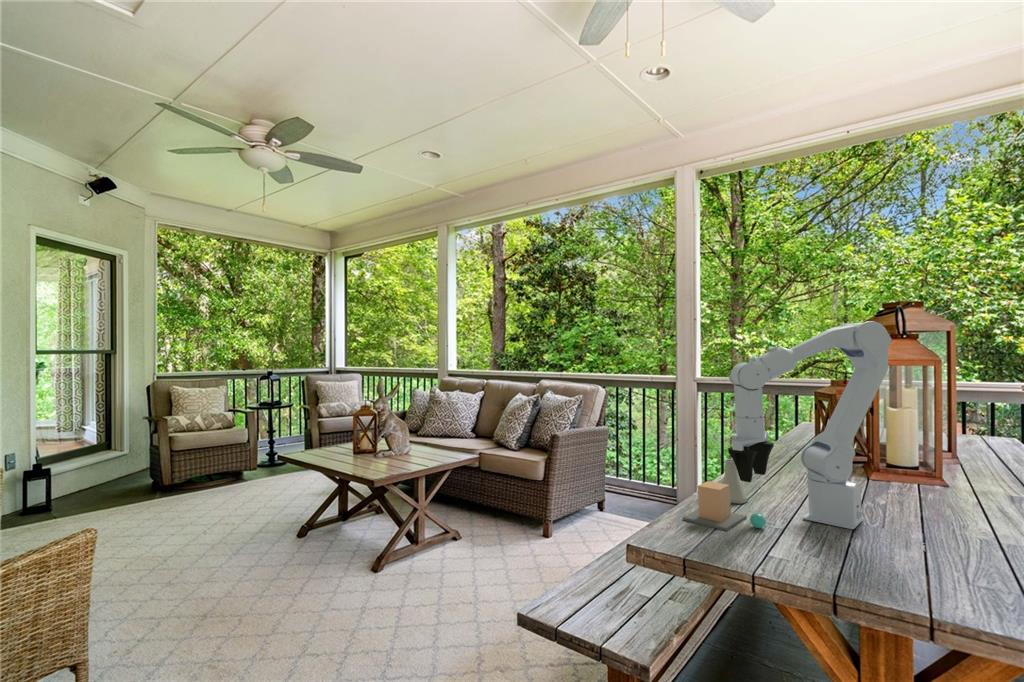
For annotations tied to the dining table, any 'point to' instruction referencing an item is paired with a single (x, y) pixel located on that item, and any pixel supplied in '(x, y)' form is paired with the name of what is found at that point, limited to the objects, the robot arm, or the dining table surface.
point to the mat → (722, 525)
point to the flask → (734, 483)
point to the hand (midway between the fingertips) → (753, 477)
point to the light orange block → (714, 501)
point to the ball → (757, 520)
